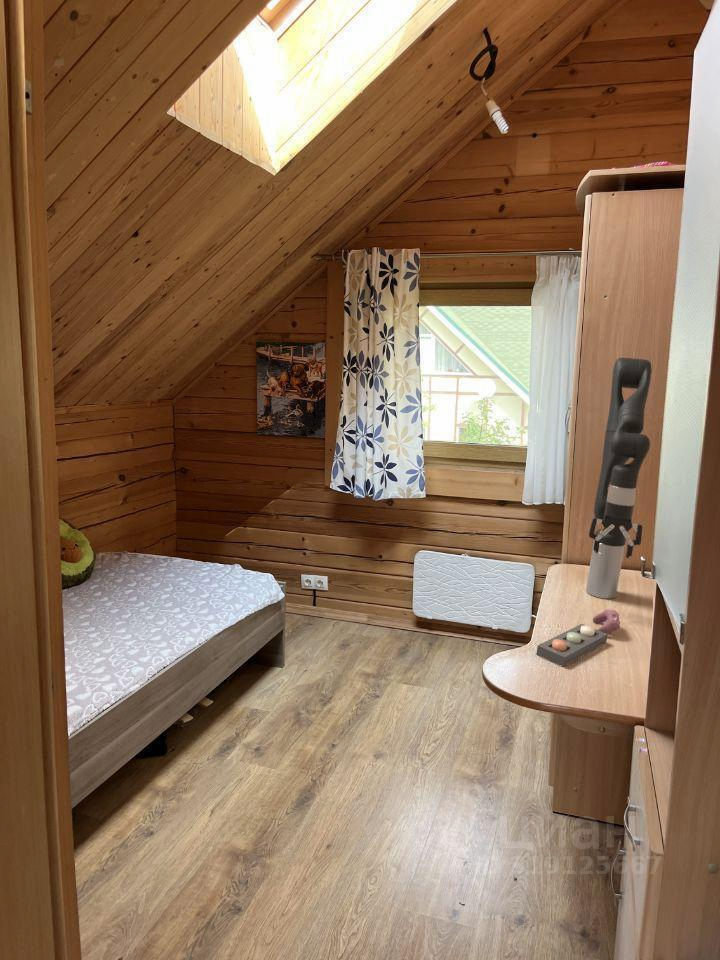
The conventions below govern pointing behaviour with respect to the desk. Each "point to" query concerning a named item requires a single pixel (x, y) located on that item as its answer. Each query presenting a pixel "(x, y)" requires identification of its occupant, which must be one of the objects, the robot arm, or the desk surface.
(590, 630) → the cream button
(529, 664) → the desk surface
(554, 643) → the terracotta button
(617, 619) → the video game controller
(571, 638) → the sage button
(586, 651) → the button panel
